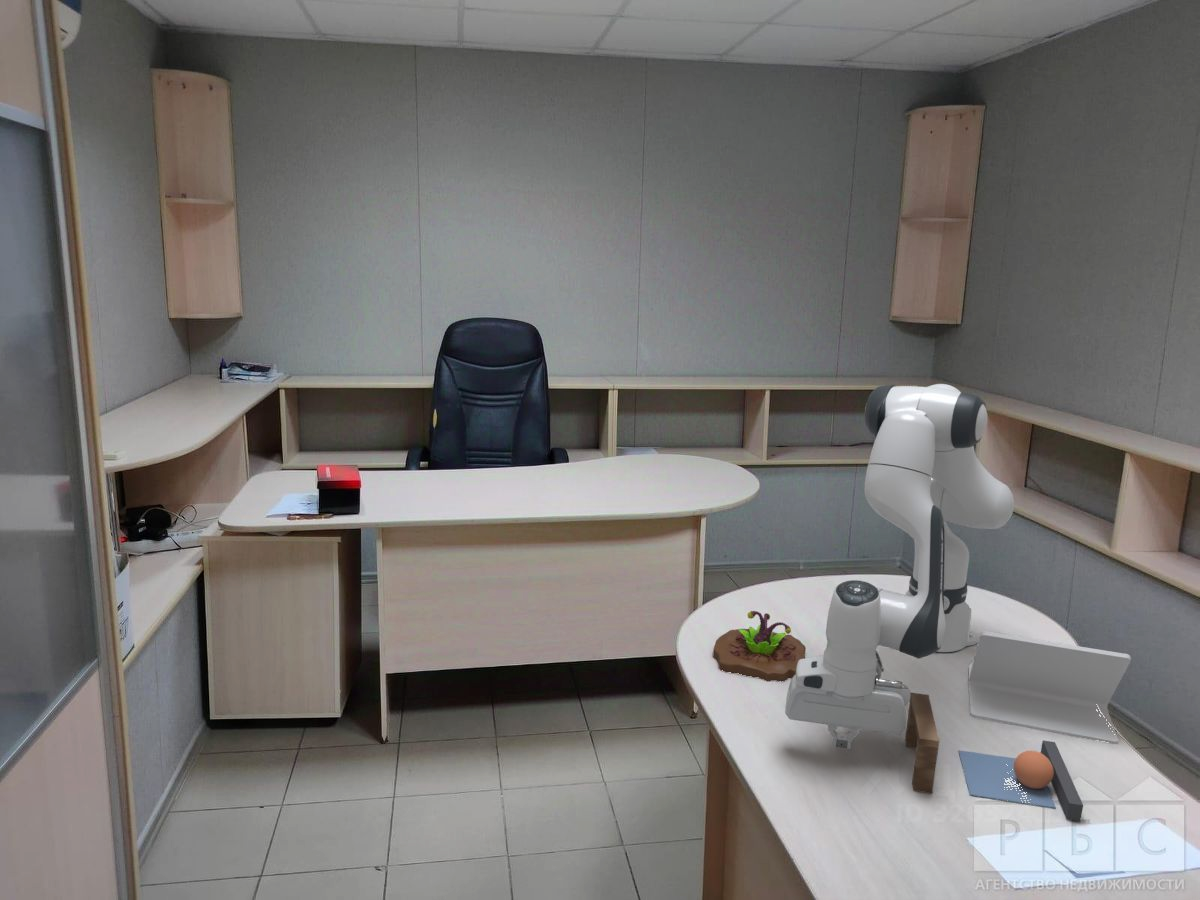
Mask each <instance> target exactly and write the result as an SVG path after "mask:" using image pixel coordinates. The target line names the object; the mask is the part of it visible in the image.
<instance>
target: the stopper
mask: <svg viewBox="0 0 1200 900" xmlns="http://www.w3.org/2000/svg"><path fill="white" fill-rule="evenodd" d="M1040 753H1042V754H1043V755H1045V756H1046V757H1047V758H1048V759H1049V760H1050V762H1051V764H1052V766H1053V771H1054V774H1053V778H1052V781H1051V782H1050V783H1051V785H1052V788H1053V790H1054V793H1055V796H1056V797H1057V799H1058V802H1059V805H1060V808H1061V810H1062V812H1063V814H1064V815H1063V816H1064V817H1065V819H1066V820H1067V821H1072V822H1079V823H1080V822H1081V819H1082V814H1083V809H1084V804H1083V802H1082V799H1081V797H1080V795H1079V793H1078V790H1077V788H1076V786H1075V784H1074V782H1073V779H1072V777H1071V775H1070V773H1069V771H1068V768H1067V765H1066V763H1065V762H1064V759H1063V757H1062V755H1061V753H1060V751H1059V748H1058V745H1057V743H1056V742H1055V741H1051V740H1042V741H1041V749H1040Z"/></svg>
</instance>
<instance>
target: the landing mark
mask: <svg viewBox="0 0 1200 900" xmlns="http://www.w3.org/2000/svg"><path fill="white" fill-rule="evenodd" d="M958 755H959V759H960V762H961V763H960V764H961V767H962V766H963V767H962V770H963V769H964V771H963V774H964V773H965V775H964V778H965V777H966V778H965V782H966V781H967V782H966V786H967V789H969V790H968V793H970V794H969V796H970V795H974V796H973V797H976V796H980V797H979V798H982V797H986V798H985V799H989V798H990V799H989V800H995V799H998V800H997V801H1002V800H1006V801H1005V802H1008V801H1012V802H1011V803H1015V802H1021V803H1022V801H1023V803H1025V801H1024V800H1026V803H1027V804H1026V805H1028V804H1032V805H1031V806H1034V805H1036V807H1041V808H1047V809H1054V810H1055V809H1056V808H1057V807H1056V805H1055V802H1054V799H1053V796H1052V794H1051V792H1050V790H1049V787H1048V785H1047V786H1045V787H1043V788H1039V789H1034V788H1029V787H1027V786H1025V785H1024V784H1022V783H1021V782H1020V781H1019V780H1018V779H1017V777H1016V775H1015V772H1014V762H1015V759H1016V758H1017V757H1016V758H1015V757H1009V756H1001V755H995V754H988V753H987V754H986V753H982V752H981V753H980V752H974V751H967V750H959V749H958ZM1006 764H1007V765H1008V766H1007V765H1006ZM1012 769H1013V770H1012ZM1010 771H1011V772H1010ZM1007 772H1008V773H1009V774H1008V773H1007ZM1012 776H1013V777H1012ZM1010 777H1011V778H1012V779H1013V780H1012V781H1013V782H1015V781H1016V784H1018V785H1019V783H1020V784H1021V785H1020V786H1018V787H1019V789H1018V787H1011V785H1004V783H1005V784H1007V783H1009V782H1007V783H1006V782H1005V779H1006V780H1008V779H1007V778H1009V779H1010ZM1004 778H1005V779H1004ZM1010 780H1011V779H1010ZM1014 780H1015V781H1014ZM1012 781H1010V782H1011V783H1012ZM1009 784H1010V783H1009ZM1012 784H1013V783H1012ZM1016 784H1014V785H1016ZM1014 785H1012V786H1014ZM1008 786H1010V788H1009V787H1008ZM1016 786H1017V785H1016ZM1004 787H1005V788H1004ZM1006 787H1008V788H1006ZM1021 787H1022V788H1021ZM1012 788H1013V789H1012ZM1015 788H1017V789H1015ZM1004 789H1005V790H1004ZM1007 789H1008V790H1007ZM1010 789H1012V790H1010ZM1022 789H1023V790H1022ZM1016 790H1017V791H1016ZM1019 790H1021V791H1019ZM1023 792H1025V793H1026V792H1027V793H1026V794H1024V793H1023ZM1018 793H1019V794H1018ZM1021 793H1023V794H1021ZM1022 795H1023V796H1025V795H1027V796H1026V797H1027V799H1026V797H1022ZM1020 798H1022V799H1020ZM1023 798H1025V799H1023ZM1030 799H1031V800H1030ZM1007 800H1008V801H1007ZM1021 800H1022V801H1021ZM1027 800H1029V801H1027ZM1028 802H1030V803H1028ZM1021 803H1020V804H1021ZM1033 804H1034V805H1033ZM1056 810H1057V809H1056Z"/></svg>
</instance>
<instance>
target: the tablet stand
mask: <svg viewBox="0 0 1200 900" xmlns="http://www.w3.org/2000/svg"><path fill="white" fill-rule="evenodd" d="M1131 661H1132V658H1131V655H1130V654H1128V653H1125V652H1123V653H1122V652H1118V651H1117V652H1115V651H1110V650H1104V649H1098V648H1092V647H1091V648H1090V647H1084V646H1079V645H1073V644H1067V643H1061V642H1054V641H1050V640H1049V641H1047V640H1041V639H1035V638H1031V637H1030V638H1029V637H1022V636H1017V635H1010V634H1004V633H999V632H997V633H996V632H991V631H985V630H984V631H981V632H980V635H979V640H978V643H977V646H976V651H975V653H974V658H973V662H972V663H971V662H970V663H969V665H968V675H967V676H968V677H967V682H968V684H967V685H968V698H969V712H970V716H971V717H972V718H974V719H979V720H985V721H991V722H996V723H1000V724H1006V725H1011V726H1017V727H1020V728H1021V727H1022V728H1028V729H1030V730H1032V729H1033V730H1037V731H1043V732H1047V733H1052V734H1054V733H1055V734H1057V735H1058V734H1059V735H1064V736H1068V735H1069V736H1070V737H1074V736H1075V738H1079V737H1081V738H1080V739H1084V738H1086V739H1085V740H1090V739H1091V740H1090V741H1095V740H1099V741H1098V742H1100V741H1105V742H1109V743H1108V744H1111V743H1112V744H1111V745H1117V744H1118V742H1119V738H1118V736H1117V733H1116V730H1115V727H1114V724H1113V722H1112V719H1111V715H1110V712H1109V710H1108V709H1109V708H1108V706H1109V703H1110V701H1111V699H1112V697H1113V696H1114V694H1115V691H1116V690H1117V687H1118V686H1119V684H1120V682H1121V680H1122V679H1123V676H1124V675H1125V672H1126V671H1127V669H1128V667H1129V666H1130V664H1131ZM1096 704H1098V706H1099V708H1100V710H1101V712H1102V713H1103V715H1104V716H1105V718H1104V717H1103V715H1102V714H1101V713H1100V711H1099V709H1098V707H1097V705H1096ZM1096 709H1097V710H1098V712H1097V711H1096ZM1099 714H1100V715H1101V717H1100V716H1099ZM1106 719H1107V721H1106ZM1108 722H1109V723H1110V724H1111V725H1112V726H1110V725H1109V723H1108ZM1106 723H1107V724H1106ZM1108 725H1109V727H1108ZM1112 727H1113V728H1114V730H1113V728H1112ZM1110 728H1111V729H1110ZM1112 731H1113V732H1112ZM1114 734H1115V735H1114ZM1105 742H1104V743H1105Z"/></svg>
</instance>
